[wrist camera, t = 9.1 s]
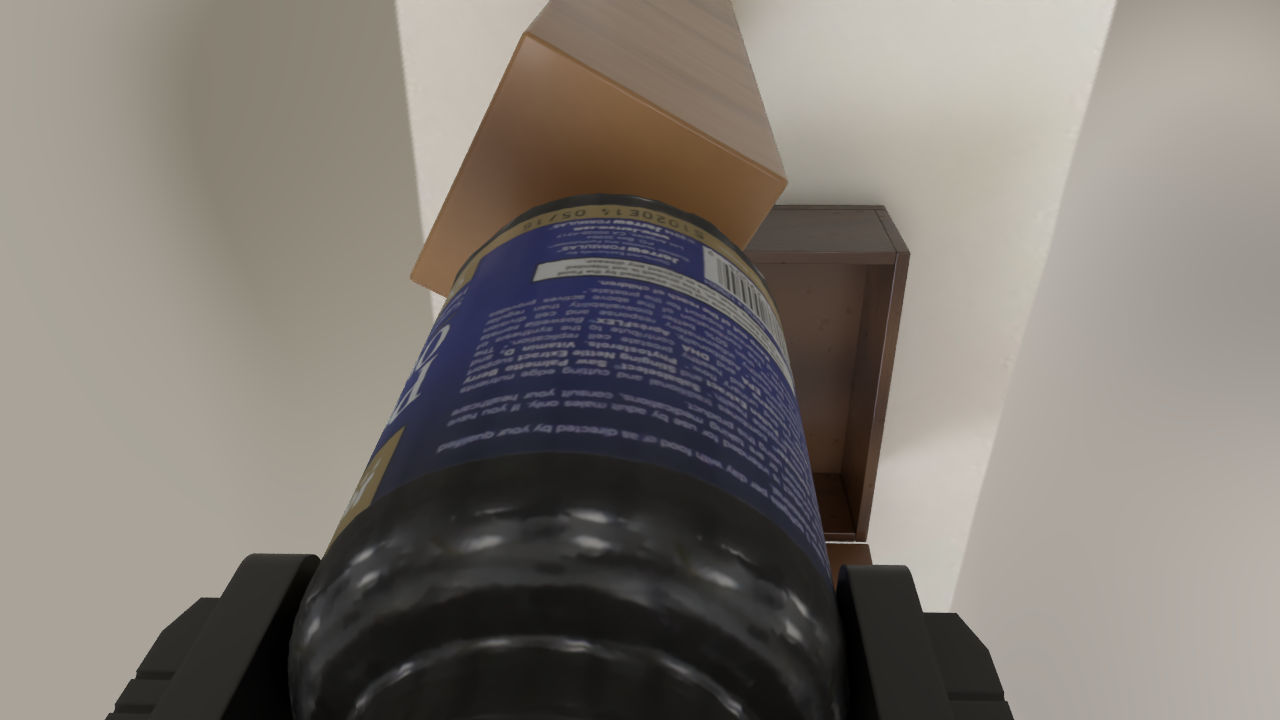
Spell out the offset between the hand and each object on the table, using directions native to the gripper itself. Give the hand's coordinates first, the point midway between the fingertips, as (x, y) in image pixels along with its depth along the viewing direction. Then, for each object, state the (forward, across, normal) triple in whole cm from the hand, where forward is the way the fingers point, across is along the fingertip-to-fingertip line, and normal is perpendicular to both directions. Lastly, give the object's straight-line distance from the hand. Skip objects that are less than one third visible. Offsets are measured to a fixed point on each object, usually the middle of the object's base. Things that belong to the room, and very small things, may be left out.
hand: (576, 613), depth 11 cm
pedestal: (+41, +1, 0) cm, 41 cm away
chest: (+41, -6, +20) cm, 46 cm away
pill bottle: (+7, 0, 0) cm, 7 cm away
